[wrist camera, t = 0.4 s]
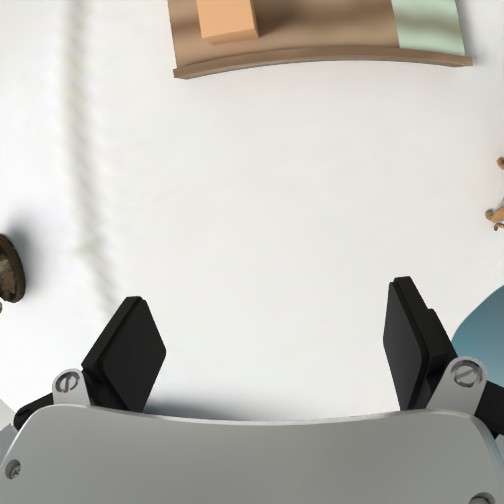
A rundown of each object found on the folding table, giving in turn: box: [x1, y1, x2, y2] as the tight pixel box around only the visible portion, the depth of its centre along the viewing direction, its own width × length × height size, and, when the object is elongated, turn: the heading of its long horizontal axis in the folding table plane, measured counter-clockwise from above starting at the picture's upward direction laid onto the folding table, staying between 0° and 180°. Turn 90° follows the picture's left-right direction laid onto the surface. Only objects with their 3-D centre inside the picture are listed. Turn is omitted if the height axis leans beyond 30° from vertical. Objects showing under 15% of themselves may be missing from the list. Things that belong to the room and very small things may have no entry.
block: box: [196, 0, 259, 46], centre depth 25 cm, size 5×5×5 cm
